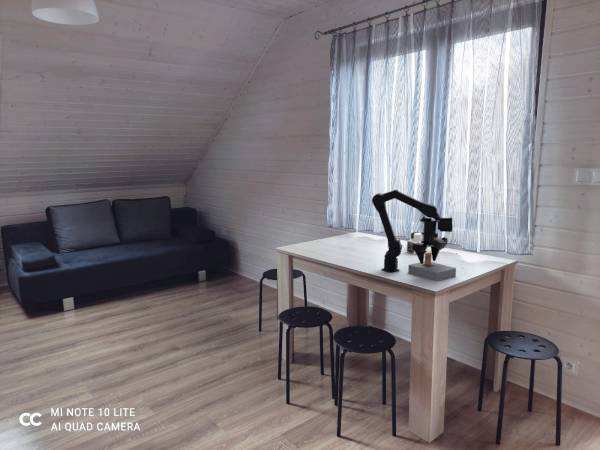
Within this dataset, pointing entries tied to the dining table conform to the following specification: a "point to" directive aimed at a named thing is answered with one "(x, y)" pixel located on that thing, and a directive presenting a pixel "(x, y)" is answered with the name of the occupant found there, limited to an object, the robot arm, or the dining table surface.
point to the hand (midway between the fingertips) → (427, 262)
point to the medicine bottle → (414, 239)
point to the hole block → (432, 271)
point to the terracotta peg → (428, 259)
